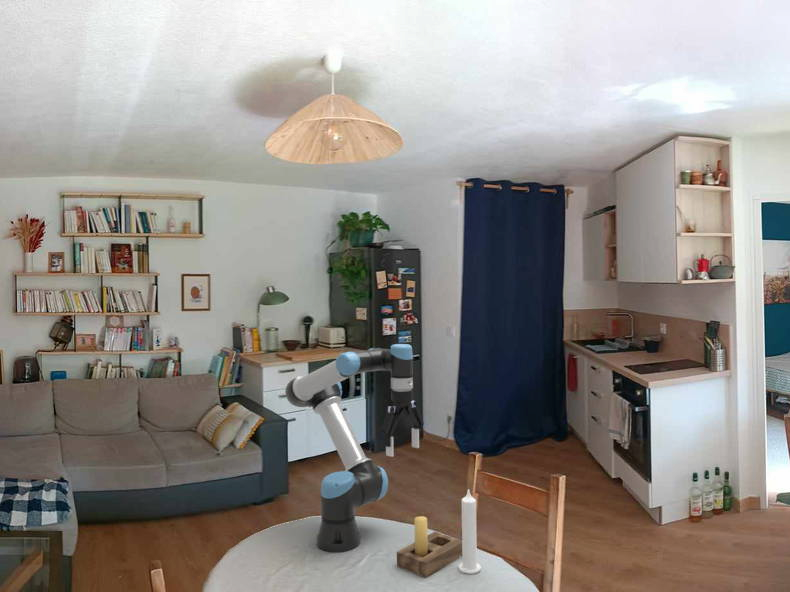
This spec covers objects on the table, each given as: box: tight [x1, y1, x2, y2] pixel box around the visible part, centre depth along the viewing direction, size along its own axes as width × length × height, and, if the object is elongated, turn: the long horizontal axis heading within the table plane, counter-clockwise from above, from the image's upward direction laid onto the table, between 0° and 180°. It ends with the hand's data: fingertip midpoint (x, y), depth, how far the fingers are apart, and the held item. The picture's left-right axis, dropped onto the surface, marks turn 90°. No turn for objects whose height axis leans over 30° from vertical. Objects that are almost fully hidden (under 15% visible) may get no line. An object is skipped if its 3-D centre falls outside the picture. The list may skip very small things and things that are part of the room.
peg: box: [414, 515, 428, 557], centre depth 182 cm, size 4×4×15 cm
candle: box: [457, 489, 482, 575], centre depth 180 cm, size 7×7×25 cm
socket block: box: [396, 531, 462, 579], centre depth 186 cm, size 12×20×4 cm, turn 139°
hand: (403, 451), depth 196 cm, fingers open, 13 cm apart
